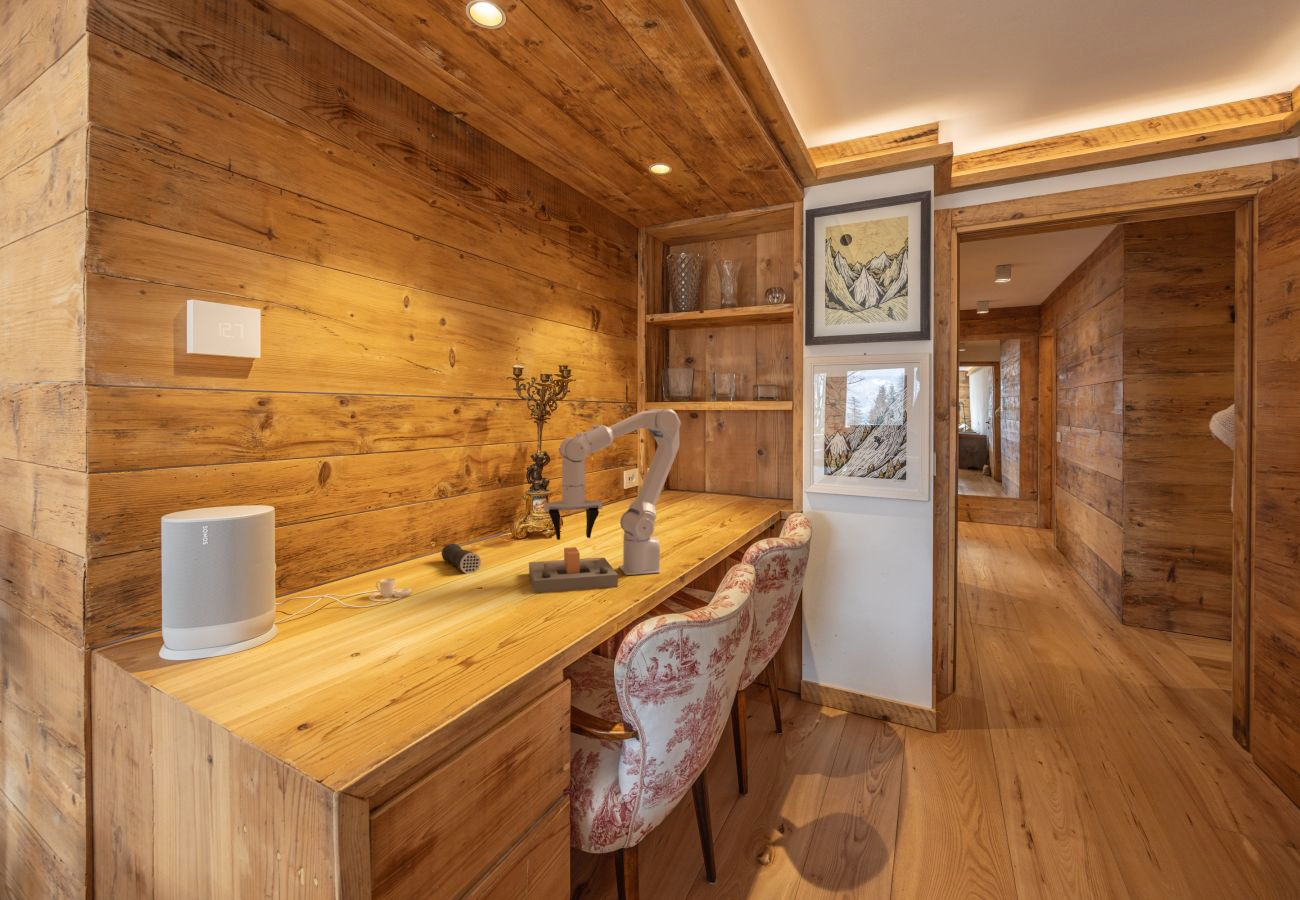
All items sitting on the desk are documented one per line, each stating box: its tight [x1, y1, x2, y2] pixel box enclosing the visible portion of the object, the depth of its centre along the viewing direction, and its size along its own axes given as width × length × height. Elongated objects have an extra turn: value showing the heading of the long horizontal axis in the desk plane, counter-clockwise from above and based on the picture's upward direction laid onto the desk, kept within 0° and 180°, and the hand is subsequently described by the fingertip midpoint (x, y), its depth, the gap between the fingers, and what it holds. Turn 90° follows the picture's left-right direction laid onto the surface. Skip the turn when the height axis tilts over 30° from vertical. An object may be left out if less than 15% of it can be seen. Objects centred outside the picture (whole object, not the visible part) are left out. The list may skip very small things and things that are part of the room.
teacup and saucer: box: [368, 577, 412, 603], centre depth 129 cm, size 9×8×4 cm
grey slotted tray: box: [528, 557, 619, 594], centre depth 143 cm, size 20×16×5 cm
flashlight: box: [441, 543, 482, 575], centre depth 154 cm, size 15×5×5 cm, turn 40°
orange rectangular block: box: [563, 546, 581, 574], centre depth 143 cm, size 3×6×5 cm, turn 16°
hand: (573, 538), depth 144 cm, fingers open, 7 cm apart
